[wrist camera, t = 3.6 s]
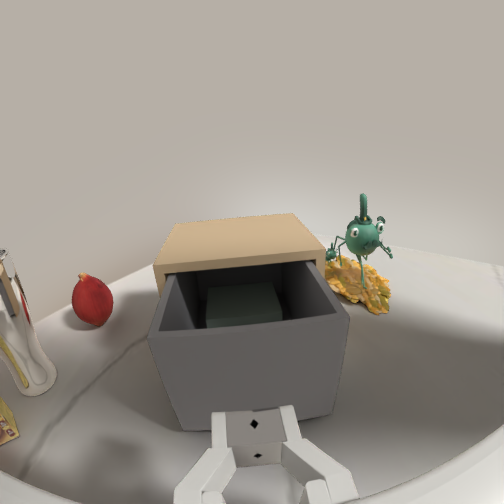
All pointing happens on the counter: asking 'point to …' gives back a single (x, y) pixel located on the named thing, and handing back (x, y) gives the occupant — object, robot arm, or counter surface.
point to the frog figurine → (359, 264)
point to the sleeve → (237, 245)
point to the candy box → (7, 424)
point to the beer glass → (21, 335)
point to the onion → (92, 300)
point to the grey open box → (249, 341)
